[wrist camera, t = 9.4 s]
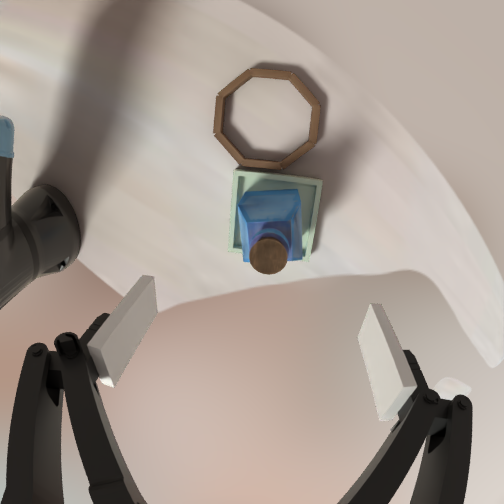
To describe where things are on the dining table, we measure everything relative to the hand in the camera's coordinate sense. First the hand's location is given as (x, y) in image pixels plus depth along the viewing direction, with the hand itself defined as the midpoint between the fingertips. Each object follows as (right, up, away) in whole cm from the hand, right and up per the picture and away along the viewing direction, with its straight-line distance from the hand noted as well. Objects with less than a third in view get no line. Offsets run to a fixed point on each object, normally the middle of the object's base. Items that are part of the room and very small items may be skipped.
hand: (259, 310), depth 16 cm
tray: (+2, +8, +18) cm, 20 cm away
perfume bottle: (+2, +8, +18) cm, 20 cm away
